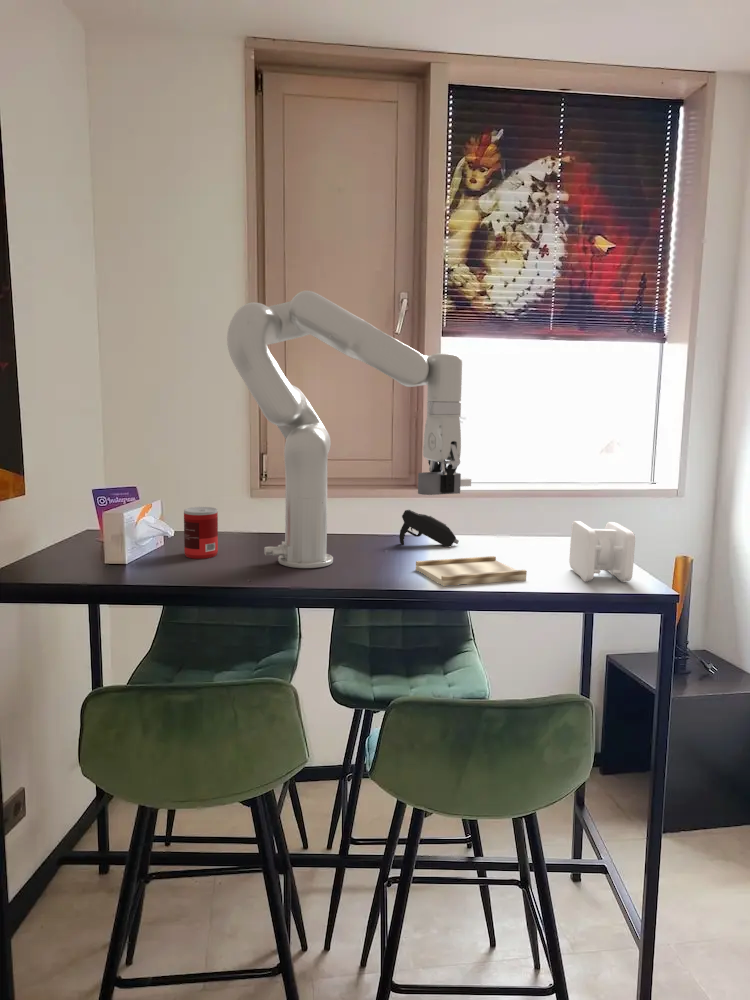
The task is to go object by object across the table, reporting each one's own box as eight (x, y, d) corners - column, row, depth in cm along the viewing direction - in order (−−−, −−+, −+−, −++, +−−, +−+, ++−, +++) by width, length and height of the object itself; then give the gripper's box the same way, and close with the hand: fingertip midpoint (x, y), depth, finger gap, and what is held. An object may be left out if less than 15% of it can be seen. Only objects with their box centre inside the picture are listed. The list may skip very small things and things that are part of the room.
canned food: (220, 551, 172) (220, 507, 170) (214, 559, 164) (213, 512, 163) (188, 551, 172) (188, 506, 170) (180, 558, 164) (180, 512, 162)
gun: (444, 567, 185) (463, 535, 184) (390, 538, 184) (409, 505, 183) (443, 565, 188) (462, 532, 187) (390, 536, 187) (408, 503, 186)
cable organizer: (566, 567, 166) (570, 518, 165) (611, 568, 166) (615, 519, 165) (585, 584, 152) (589, 531, 150) (634, 586, 152) (639, 532, 150)
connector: (423, 495, 157) (423, 475, 156) (414, 492, 161) (415, 472, 160) (472, 492, 162) (473, 473, 161) (462, 490, 166) (463, 471, 165)
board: (443, 586, 147) (443, 577, 147) (415, 569, 160) (415, 561, 159) (526, 579, 154) (526, 570, 154) (493, 564, 167) (493, 556, 167)
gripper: (412, 409, 164) (411, 487, 167) (446, 411, 149) (444, 497, 152) (441, 409, 167) (439, 485, 170) (477, 411, 152) (475, 495, 155)
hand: (441, 490), depth 161 cm, fingers closed on connector, 4 cm apart
